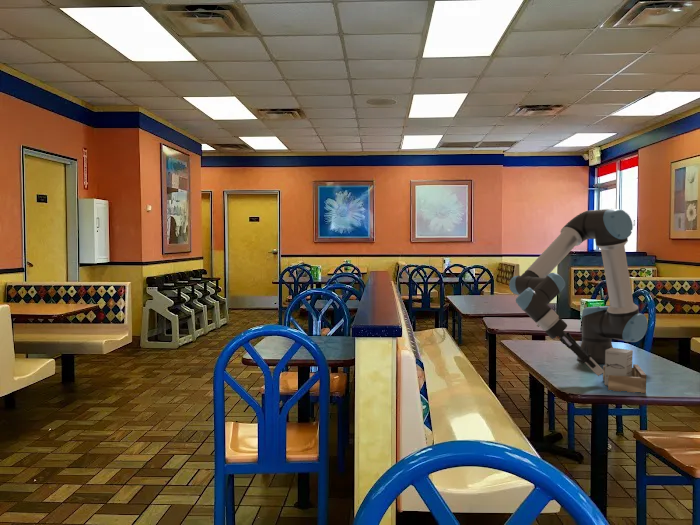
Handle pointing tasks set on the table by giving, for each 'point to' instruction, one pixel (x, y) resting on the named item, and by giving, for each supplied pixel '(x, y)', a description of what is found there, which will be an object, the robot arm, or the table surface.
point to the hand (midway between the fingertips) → (601, 373)
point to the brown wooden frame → (628, 381)
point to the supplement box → (618, 362)
